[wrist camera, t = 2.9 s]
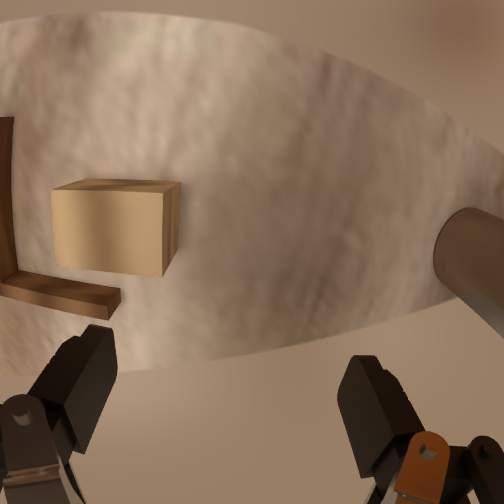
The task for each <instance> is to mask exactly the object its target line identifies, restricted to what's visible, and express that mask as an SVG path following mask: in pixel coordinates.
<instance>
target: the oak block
mask: <svg viewBox="0 0 504 504" xmlns="http://www.w3.org/2000/svg"><path fill="white" fill-rule="evenodd" d="M179 190H180V182H174V181H152V180H123V179H83V180H80V181H77V182H73V183H70V184H67V185H64V186H61V187H58V188H55V189H52V190H51V208H52V224H53V236H54V246H55V254H56V262H57V266H63V267H71V268H79V269H87V270H96V271H105V272H114V273H123V274H132V275H142V276H152V277H163V275H164V273H165V272H166V270H167V268H168V266H169V264H170V262H171V261H172V259H173V257H174V255H175V253H176V252H177V248H178V213H179Z"/></svg>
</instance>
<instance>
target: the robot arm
mask: <svg viewBox="0 0 504 504" xmlns="http://www.w3.org/2000/svg"><path fill="white" fill-rule="evenodd" d="M434 265H435V271H436V274H437V276H438V278H439V279H440V281H441V282H442V283H443V284H444V285H445V286H447V287H448V288H449V289H450V290H451V291H452V292H454V293H455V294H456V295H457V296H458V297H459V298H460V299H461V300H463V301H464V302H465V303H466V304H467V305H468V306H469V307H470V308H472V309H473V310H474V311H475V312H476V313H477V314H478V315H479V316H480V317H482V319H484V320H485V321H486V322H487V323H488V324H489V325H490V326H491V327H492V328H493V329H494V330H495V331H496V332H497V333H498V334H500V335H501V336H502V337H503V338H504V220H503V219H500V218H498V217H496V216H493V215H491V214H489V213H486V212H484V211H481V210H479V209H476V208H467V209H463V210H461V211H459V212H458V213H456V214H455V215H454V216H453V217H451V218H450V219H449V221H448V222H447V223H446V225H445V226H444V227H443V229H442V231H441V233H440V235H439V238H438V240H437V243H436V248H435V252H434ZM117 369H118V365H117V357H116V349H115V341H114V333H113V330H112V329H111V328H108V327H103V326H98V325H93V324H90V325H88V327H87V328H86V329H85V331H84V332H83V334H82V335H81V336H80V337H79V336H73V337H71V338H70V339H68V340H67V341H65V342H64V343H62V345H61V346H60V347H59V349H58V350H57V352H56V353H55V355H54V356H53V357H52V358H51V360H50V363H49V364H47V365H46V367H45V368H44V370H43V371H42V373H41V374H40V375H39V377H38V378H37V380H36V381H35V383H34V384H33V386H32V387H31V389H30V390H29V392H28V393H27V394H19V395H15V396H12V397H10V398H9V399H7V400H6V401H5V402H4V403H3V404H0V492H1V490H2V487H4V492H5V496H6V500H7V504H87V501H86V499H85V497H84V495H83V492H82V490H81V488H80V485H79V483H78V481H77V478H76V476H75V473H74V471H73V468H72V465H71V462H70V460H69V459H70V456H71V454H72V451H75V452H78V453H81V454H85V452H86V449H87V447H88V444H89V442H90V439H91V437H92V434H93V432H94V429H95V427H96V424H97V422H98V419H99V417H100V415H101V412H102V410H103V408H104V406H105V403H106V401H107V398H108V396H109V394H110V392H111V389H112V387H113V385H114V383H115V380H116V376H117ZM337 401H338V406H339V409H340V412H341V415H342V418H343V421H344V425H345V428H346V431H347V434H348V437H349V441H350V444H351V447H352V450H353V453H354V457H355V460H356V463H357V467H358V470H359V473H360V477H361V478H368V477H374V479H375V483H374V485H373V486H372V488H371V490H370V492H369V494H368V496H367V498H366V500H365V502H364V504H471V503H470V501H469V498H468V496H467V494H468V493H469V492H470V491H472V490H473V489H474V491H475V493H476V496H477V498H478V500H479V503H480V504H504V452H503V451H502V449H501V447H500V445H499V444H498V443H497V442H496V441H495V440H494V439H492V438H490V437H488V436H478V437H476V438H474V439H473V440H472V442H471V443H470V444H469V445H468V446H467V447H463V446H449V445H448V444H447V442H446V441H445V439H444V438H442V437H441V436H440V435H438V434H436V433H433V432H430V431H425V429H424V427H423V425H422V423H421V421H420V419H419V417H418V416H417V414H416V412H415V410H414V408H413V406H412V404H411V403H410V401H409V400H408V397H407V395H406V394H405V392H403V388H402V386H401V385H400V383H399V381H398V379H397V378H396V377H395V376H394V375H392V374H391V373H390V372H389V371H388V370H383V368H382V366H381V364H380V362H379V361H378V359H377V357H375V356H374V355H354V356H353V357H352V358H351V360H350V362H349V364H348V367H347V369H346V372H345V374H344V377H343V379H342V381H341V384H340V386H339V389H338V394H337ZM7 475H8V476H7Z"/></svg>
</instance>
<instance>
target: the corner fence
mask: <svg viewBox="0 0 504 504" xmlns="http://www.w3.org/2000/svg"><path fill="white" fill-rule="evenodd" d="M13 120H14V117H0V295H1V296H5V297H8V298H12V299H16V300H19V301H23V302H27V303H31V304H35V305H39V306H43V307H47V308H51V309H56V310H60V311H64V312H69V313H73V314H78V315H83V316H88V317H93V318H98V319H103V320H108V321H109V319H110V318H111V316H112V315H113V313H114V311H115V310H116V308H117V307H118V305H119V304H120V302H121V299H120V289H119V288H112V287H106V286H100V285H94V284H88V283H83V282H77V281H71V280H66V279H60V278H55V277H50V276H45V275H40V274H35V273H30V272H25V271H20V270H18V266H17V259H16V251H15V242H14V232H13V220H12V203H11V149H12V132H13Z"/></svg>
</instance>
